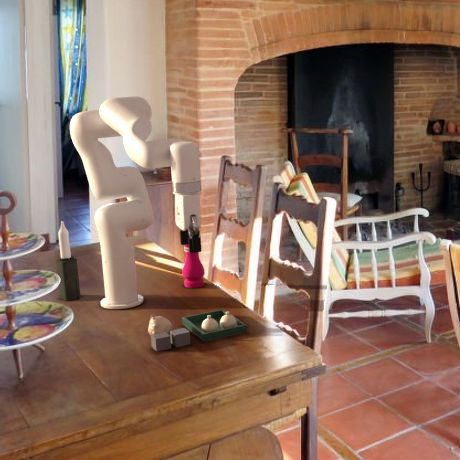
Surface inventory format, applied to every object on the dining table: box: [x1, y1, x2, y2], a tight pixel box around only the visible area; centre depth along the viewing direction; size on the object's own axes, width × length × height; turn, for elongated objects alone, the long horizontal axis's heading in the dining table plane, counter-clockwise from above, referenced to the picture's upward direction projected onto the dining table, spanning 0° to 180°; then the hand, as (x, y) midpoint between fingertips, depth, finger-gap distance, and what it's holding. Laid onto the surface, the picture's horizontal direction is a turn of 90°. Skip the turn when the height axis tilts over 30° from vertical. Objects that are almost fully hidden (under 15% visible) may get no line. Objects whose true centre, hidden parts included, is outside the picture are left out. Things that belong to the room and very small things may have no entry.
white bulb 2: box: [220, 310, 236, 329], centre depth 225 cm, size 4×4×5 cm
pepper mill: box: [181, 244, 206, 289], centre depth 265 cm, size 7×7×20 cm
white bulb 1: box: [202, 315, 218, 333], centre depth 222 cm, size 4×4×5 cm
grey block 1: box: [150, 332, 172, 352], centre depth 212 cm, size 4×4×4 cm
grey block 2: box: [169, 327, 191, 348], centre depth 215 cm, size 4×4×4 cm
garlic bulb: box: [147, 313, 173, 336], centre depth 220 cm, size 7×6×8 cm
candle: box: [55, 220, 81, 302], centre depth 251 cm, size 5×5×25 cm
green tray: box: [181, 308, 248, 342], centre depth 227 cm, size 17×13×3 cm
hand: (190, 248), depth 221 cm, fingers open, 9 cm apart
